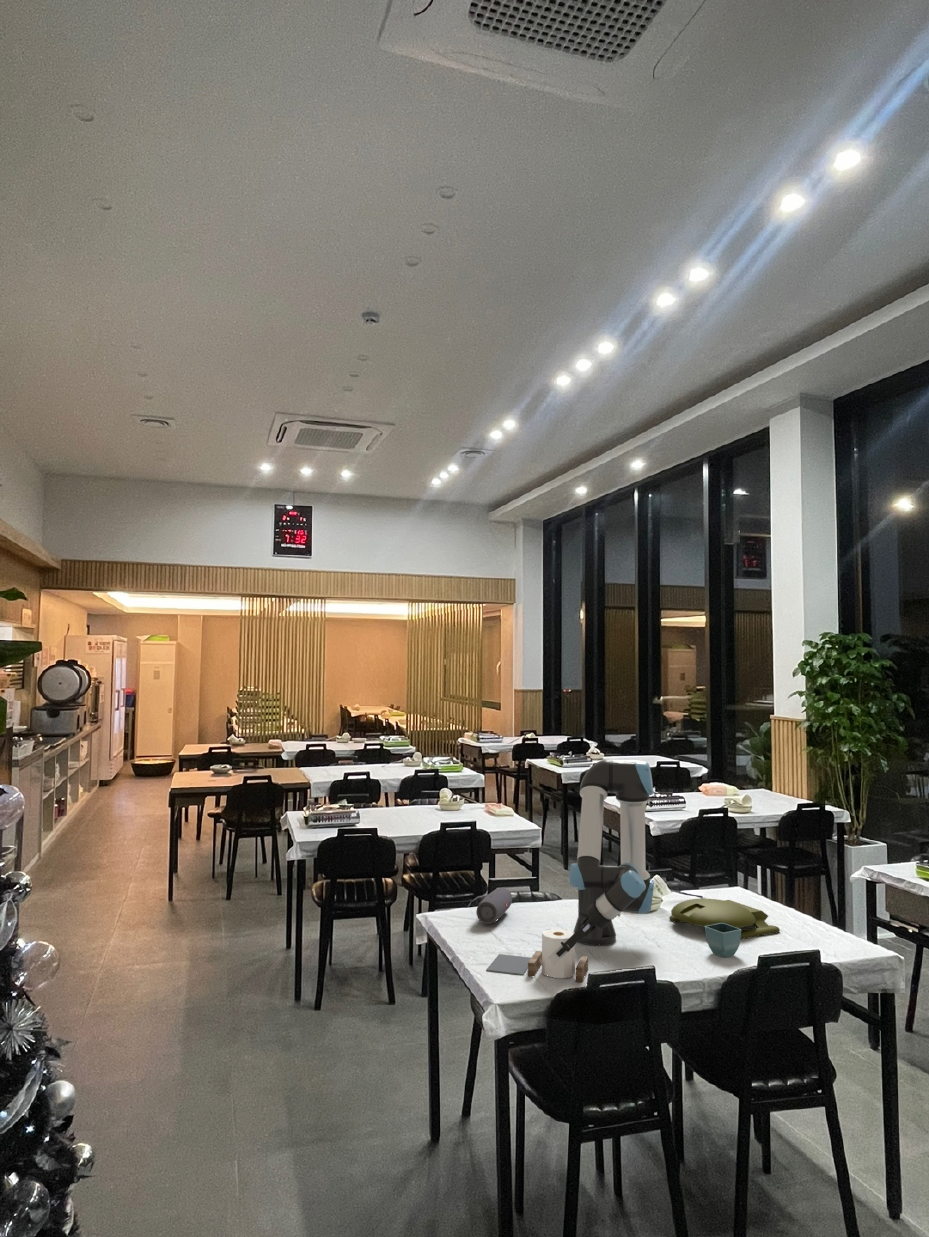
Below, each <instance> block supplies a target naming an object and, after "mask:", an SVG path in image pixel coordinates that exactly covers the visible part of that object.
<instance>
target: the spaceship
mask: <svg viewBox="0 0 929 1237" xmlns="http://www.w3.org/2000/svg"><path fill="white" fill-rule="evenodd" d="M670 912H671V914H670V916H669V920H670V921H671V922H673V921H675V922H674V923H681V922H680V921H683V922H684V923H687V924H691V925H694V926H700V927H705V926H708V925H713V924H718V923H725V924H728V925H730V926H733V927H736V928H739V929H741V928H743V929H741V938H740V940H743V938H744V939H749V938H748V937H750V938H753V937H754V936H756V937H759V936H758V935H762V936H765V935H764V934H768V935H770V934H769V933H774V934H777V932H778V933H779V932H781V931H780V930H781V929H780V928H779V927H778V926H776V925H772V924H771V925H770V924H768V923H767V922H766V921H767V919H768V917H769V915H768V914H766V913H765V912H764V911H763V910H761V909H758V908H755V907H752V906H749V905H745V904H742V903H739V902H736V901H734V900H731V899H725V900H724V899H717V898H716V899H715V898H693V899H687V900H685V901H684V900H683V901H681V902H678V903H677V904H675V905H674V906H673V907H672V909H671V911H670ZM683 922H682V923H683ZM750 926H754V927H752V928H751V927H750ZM745 927H750V928H745ZM744 928H745V929H744Z"/></svg>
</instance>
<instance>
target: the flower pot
mask: <svg viewBox="0 0 929 1237" xmlns="http://www.w3.org/2000/svg"><path fill="white" fill-rule="evenodd" d="M741 930H742V929H741V928H736V927H733V926H730V925H728V924H725V923H718V924H713V925H708V926H704V931H705V938H706V943H707V944H708V948H709V949H710V951H711V952H712V953H713V954H714V953H715V954H714V955H716V956H719V957H722V958H726V957H731V955H732V956H734V955H735V954H736V953H737V952H738V949H739V947H740V944H741V939H740V938H741Z"/></svg>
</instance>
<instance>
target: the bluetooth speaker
mask: <svg viewBox="0 0 929 1237" xmlns="http://www.w3.org/2000/svg"><path fill="white" fill-rule="evenodd" d="M512 903H513V895H512V893H511V891H510V890H509V889H507V888H506V887H498V888H496V889H494V890H492V891H491V892H490V893H489V894H487V895H486V896H485V897H484V898H483V899H482V900H481V901H480V902H479V904H478V905H477V908H476V911H475V912H476V917H477V918H478V920H479V922H481V923H483V924H487V925H489V924H490V925H491V924H494V923H493V922H495V921H496V920H497V919H499V918H500V917H502V916H503V915H504V914H505V913H506V912H507V911H508V909H509V908H510V907H511V906H512ZM500 919H501V918H500ZM500 919H499V920H500ZM495 923H496V922H495Z"/></svg>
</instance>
